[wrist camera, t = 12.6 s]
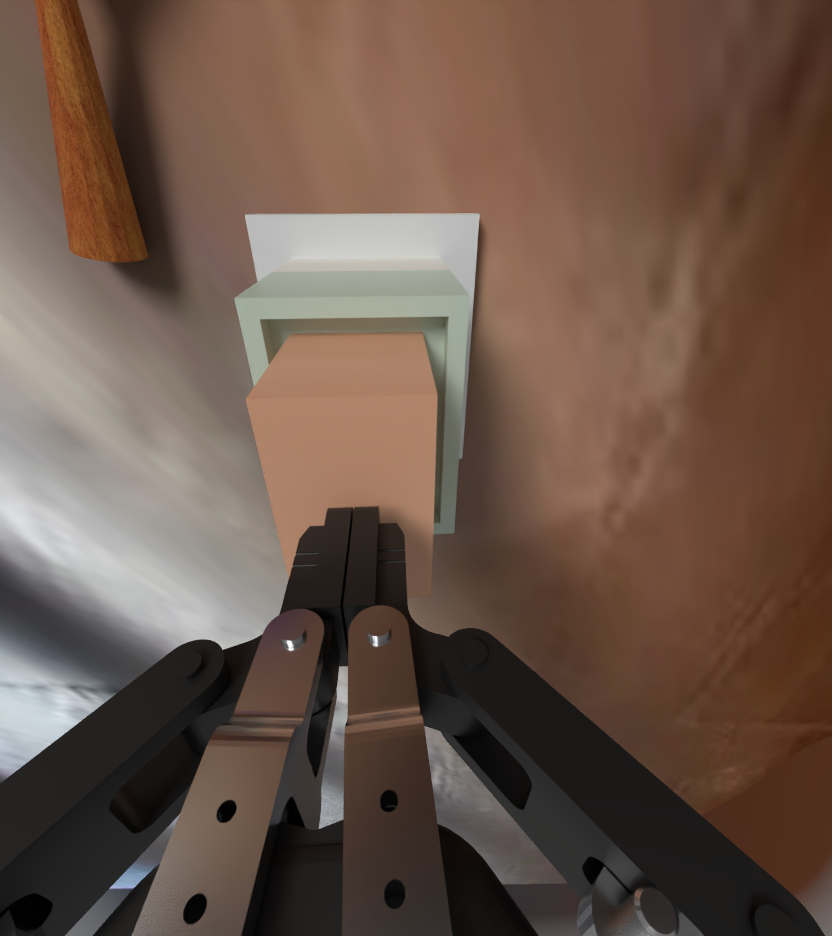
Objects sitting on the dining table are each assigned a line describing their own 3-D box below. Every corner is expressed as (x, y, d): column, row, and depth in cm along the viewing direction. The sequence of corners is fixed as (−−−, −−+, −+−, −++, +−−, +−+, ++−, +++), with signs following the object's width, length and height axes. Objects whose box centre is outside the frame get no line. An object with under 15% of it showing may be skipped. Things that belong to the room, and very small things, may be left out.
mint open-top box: (460, 451, 31) (490, 560, 22) (295, 456, 30) (255, 570, 21) (476, 213, 23) (535, 228, 14) (250, 214, 22) (153, 231, 13)
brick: (420, 497, 21) (431, 596, 16) (317, 500, 20) (294, 602, 15) (422, 331, 16) (437, 394, 11) (290, 333, 16) (245, 399, 11)
